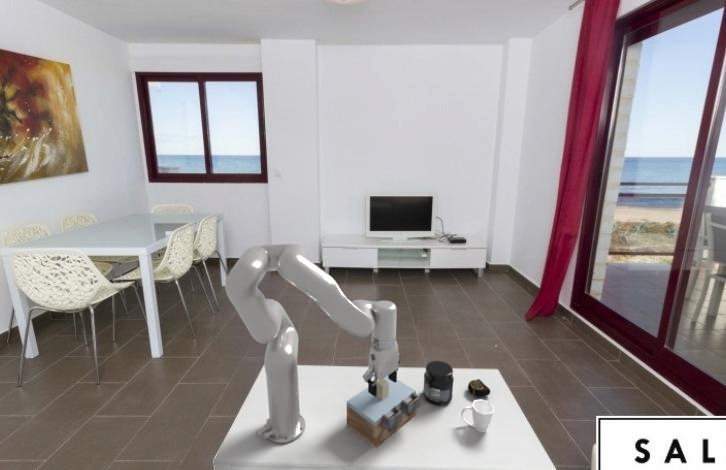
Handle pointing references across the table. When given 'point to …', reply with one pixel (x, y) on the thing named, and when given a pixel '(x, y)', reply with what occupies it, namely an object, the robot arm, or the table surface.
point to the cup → (480, 414)
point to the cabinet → (382, 422)
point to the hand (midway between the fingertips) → (382, 387)
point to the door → (381, 400)
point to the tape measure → (478, 388)
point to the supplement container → (438, 383)
